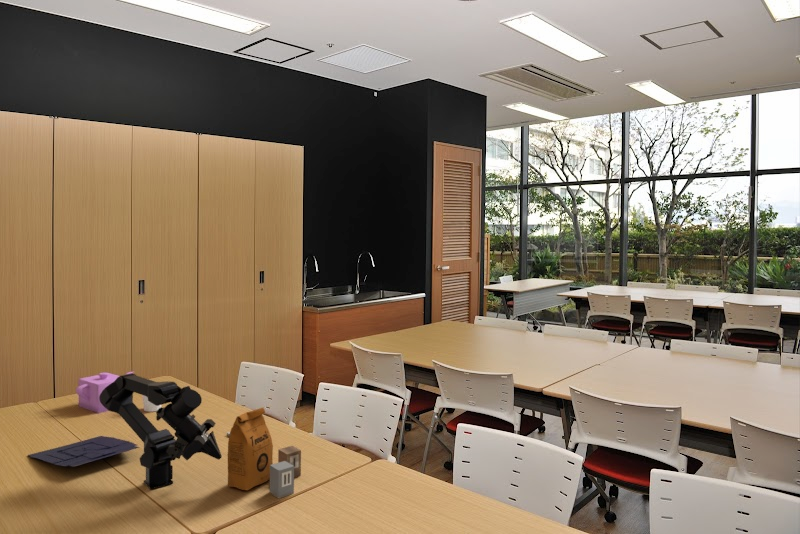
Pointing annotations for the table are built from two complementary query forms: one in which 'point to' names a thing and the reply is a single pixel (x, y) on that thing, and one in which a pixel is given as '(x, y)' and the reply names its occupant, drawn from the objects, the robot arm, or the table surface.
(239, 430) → the coffee package
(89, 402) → the teapot
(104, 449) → the dark blue flat slab
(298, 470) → the walnut numbered block
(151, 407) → the white cup
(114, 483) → the table surface
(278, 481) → the grey numbered block
